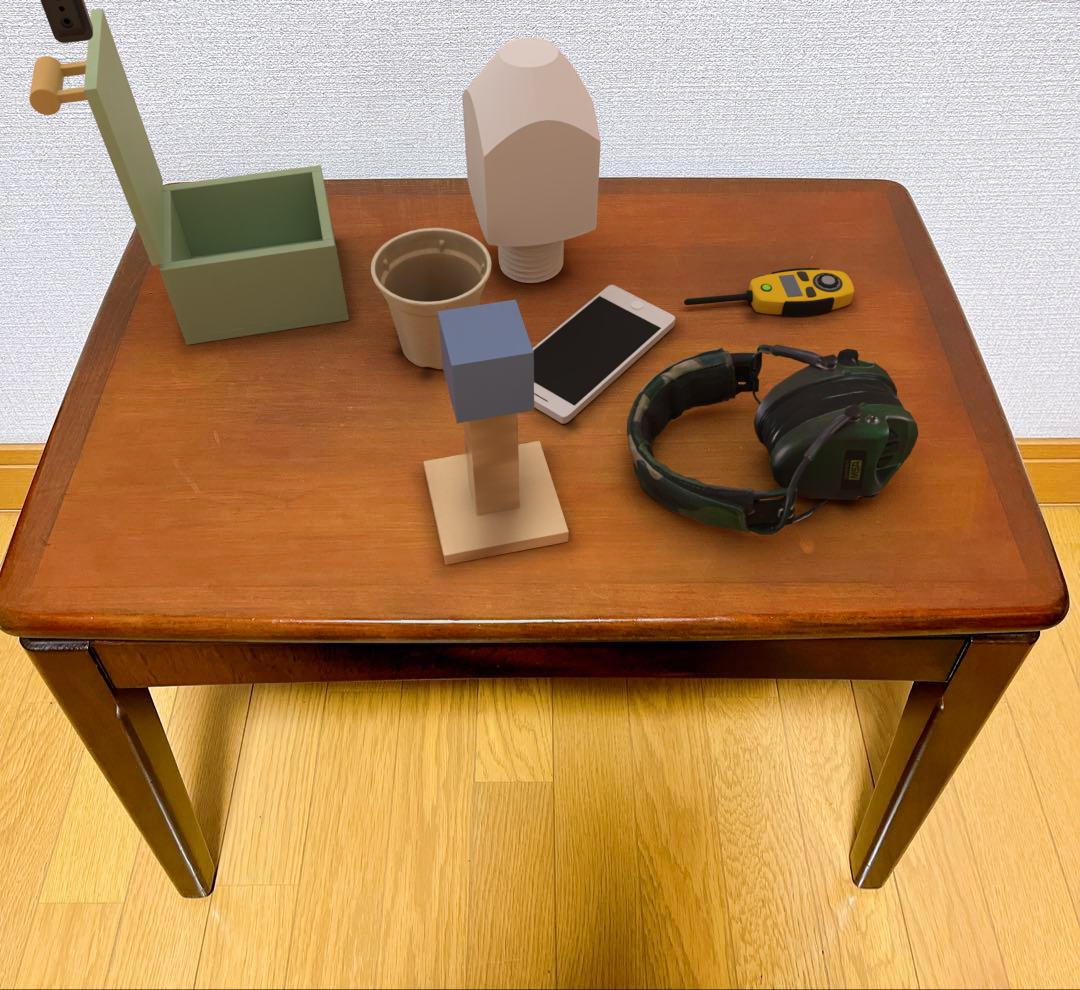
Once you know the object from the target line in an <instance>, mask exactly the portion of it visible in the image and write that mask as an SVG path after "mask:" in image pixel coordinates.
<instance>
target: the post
mask: <svg viewBox="0 0 1080 990" xmlns="http://www.w3.org/2000/svg"><path fill="white" fill-rule="evenodd" d="M518 414H519V413H515V414H509V415H503V416H497V417H492V418H486V419H480V420H474V421H468V422H462V423H463V434H464V447H465V448H464V449H465V453H462V454H457V455H451V456H450V455H449V456H446V457H440V458H433V459H428V460H423V470H424V474H425V479H426V484H427V487H428V493H429V498H430V503H431V507H432V512H433V516H434V521H435V525H436V526H435V527H436V530H437V534H438V539H439V544H440V548H441V553H442V557H443V563H444V565H445V566H448V565H452V564H459V563H463V562H468V561H474V560H480V559H485V558H490V557H494V556H495V557H496V556H499V555H505V554H510V553H515V552H520V551H526V550H532V549H536V548H537V549H538V548H541V547H547V546H553V545H558V544H562V543H563V544H564V543H568V542H569V535H570V534H569V533H570V532H569V528H568V524H567V522H566V519H565V515H564V512H563V509H562V506H561V503H560V499H559V497H558V493H557V491H556V487H555V484H554V480H553V478H552V474H551V472H550V468H549V465H548V462H547V459H546V455H545V453H544V450H543V447H542V444H541V441H540V440H536V441H530V442H525V443H519V427H518V426H519V419H518V417H519V416H518Z"/></svg>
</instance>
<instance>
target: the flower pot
mask: <svg viewBox="0 0 1080 990" xmlns="http://www.w3.org/2000/svg"><path fill="white" fill-rule="evenodd" d="M491 273H492V257H491V255H490V252H489V250H488V249H487V247H486V246H485V245H484V244H483V243H482V242H481V241H480V240H478V239H476V238H475V237H473V236H472V235H470V234H469V233H468V234H467V233H464V232H463V231H459V230H456V229H452V228H444V227H425V228H423V227H422V228H419V229H413V230H409V231H407V232H404V233H401V234H399V235H397V236H395V237H393V238H391V239H389V240H387V241H386V242H385V243H384V244H382V245H381V246H380V247H379V248H378V250H377V251H376V252H375V254H373V256H372V260H371V263H370V274H371V277H372V280H373V283H374V284H375V286H376V287H377V289H378V290H379V291H380V293H381V294H382V296H383V298H384V299H385V300H386V302H387V305H388V308H389V311H390V315H391V318H392V321H393V324H394V327H395V330H396V333H397V336H398V340H399V343H400V347H401V350H402V352H403V355H404V356H405V358H406V360H408V361H409V362H411V363H412V364H414V365H415V366H417V367H420V368H432V369H436V370H443V361H442V351H441V342H440V332H439V322H438V311H445V310H451V309H458V308H464V307H470V306H477V305H481V298H482V293H483V291H484V289H485V286H486V283H487V282H488V280H489V278H490V275H491Z"/></svg>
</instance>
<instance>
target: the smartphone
mask: <svg viewBox="0 0 1080 990" xmlns="http://www.w3.org/2000/svg"><path fill="white" fill-rule="evenodd" d="M675 323H676V316H675V315H674V314H672V313H670V312H668V311H666V310H664V309H662V308H660V307H658V306H656V305H655V304H652V303H650V302H648V301H647V300H644V299H642V298H640V297H638V296H637V295H635V294H632V293H631V292H629V291H626V290H625V289H623V288H621V287H619V286H617V285H615V284H609V285H608V286H606V287H605V288H604V289H602V290H601V291H600V292H599V293H597V294H596V295H595V296H594V297H593V298H592V299H590V300H588V302H587V303H585V304H584V305H583V306H581V308H579V309H578V310H577V311H576V312H574V313H573V314H572V315H571V316H570V317H568V318H567V319H566V320H565V321H563V322H562V323H561V324H560V325H559V326H558V327H556V328H555V329H554V330H552V331H551V332H550V333H549V334H548V335H547V336H545V337H544V338H543V339H542V340H540V341H539V342H538V343H537V344H536V345H534V346H532V349H533V351H534V409H537V410H538V411H539V412H542V413H543V414H544V415H547V416H548V417H550V418H552V419H553V420H555V421H557V422H558V423H560V424H567V423H570V421H571V420H573V418H575V417H576V416H577V415H578V414H579V413H580V412H581V411H583V410H584V408H586V407H587V406H588V405H589V404H590V403H591V402H592V401H593V400H594V399H596V398H597V397H598V396H599V395H600V394H602V392H603V391H604V390H606V389H607V388H608V387H609V386H610V385H611V384H613V382H614V381H616V380H617V379H618V378H619V377H620V376H621V375H622V374H623V373H625V371H626V370H628V369H629V368H630V367H631V366H632V365H633V364H635V362H636V361H638V360H639V359H640V358H641V357H642V356H643V355H644V354H646V352H648V351H649V350H650V349H651V348H652V347H654V345H656V344H657V342H659V341H660V340H661V339H662V338H663V337H664V336H665V335H667V334H668V333H669V332H670V331H671V330H672V329H673V328H674V327H675Z"/></svg>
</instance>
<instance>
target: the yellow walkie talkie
mask: <svg viewBox="0 0 1080 990" xmlns="http://www.w3.org/2000/svg"><path fill="white" fill-rule="evenodd" d="M854 294H855V287H854V284H853V281H852V280H851V278H850V277H849V275H848V274H847V273H845V272H844V271H841V270H830V269H820V268H819V267H799V268H798V267H795V268H788V269H781V270H776V271H772V272H771V273H770V274H765V275H762V276H758V277H754V278H753V279H751V281H750V283H749V286H748V289H747V290H746V292H745V293H736V294H726V295H725V294H724V295H714V296H711V295H710V296H703V297H690V298H686V299H684V301H683V303H684V304H685V305H686V306H695V305H706V304H717V303H728V302H742V301H746V302H747V303H748V304H750V306H751V307H752V308H753V310H754V311H755V312H757V313H759V314H766V315H780V316H781V317H809V316H810V317H811V316H817V315H822V314H827V313H831V312H832V310H836V309H840V308H844V307H846V306H849V305H850V304H851V303H852V301H853V297H854Z"/></svg>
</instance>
